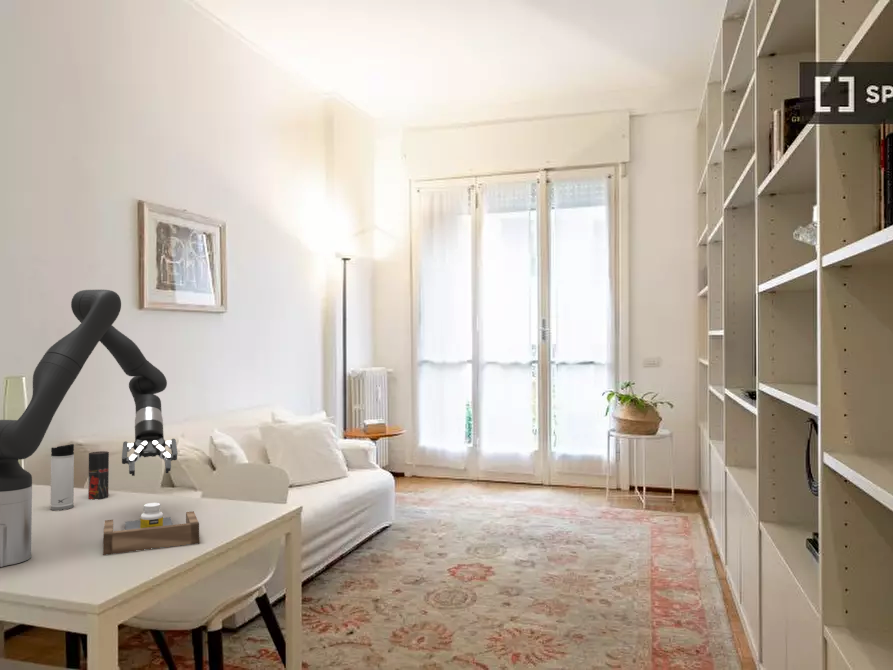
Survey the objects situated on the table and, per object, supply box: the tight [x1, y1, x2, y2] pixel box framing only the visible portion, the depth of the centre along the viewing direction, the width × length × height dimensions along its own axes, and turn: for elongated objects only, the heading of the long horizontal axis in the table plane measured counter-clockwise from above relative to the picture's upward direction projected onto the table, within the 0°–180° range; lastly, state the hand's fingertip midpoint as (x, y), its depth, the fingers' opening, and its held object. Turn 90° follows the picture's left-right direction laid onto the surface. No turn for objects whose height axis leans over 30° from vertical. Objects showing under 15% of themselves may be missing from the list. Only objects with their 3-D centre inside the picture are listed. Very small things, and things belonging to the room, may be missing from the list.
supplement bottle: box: [139, 502, 164, 528], centre depth 173 cm, size 5×5×10 cm
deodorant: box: [87, 450, 110, 501], centre depth 223 cm, size 6×6×15 cm
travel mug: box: [50, 443, 75, 511], centre depth 208 cm, size 6×7×20 cm
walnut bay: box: [102, 510, 200, 556], centre depth 173 cm, size 14×22×5 cm, turn 116°
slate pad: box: [124, 516, 174, 530], centre depth 188 cm, size 12×12×1 cm
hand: (150, 472), depth 184 cm, fingers open, 8 cm apart
